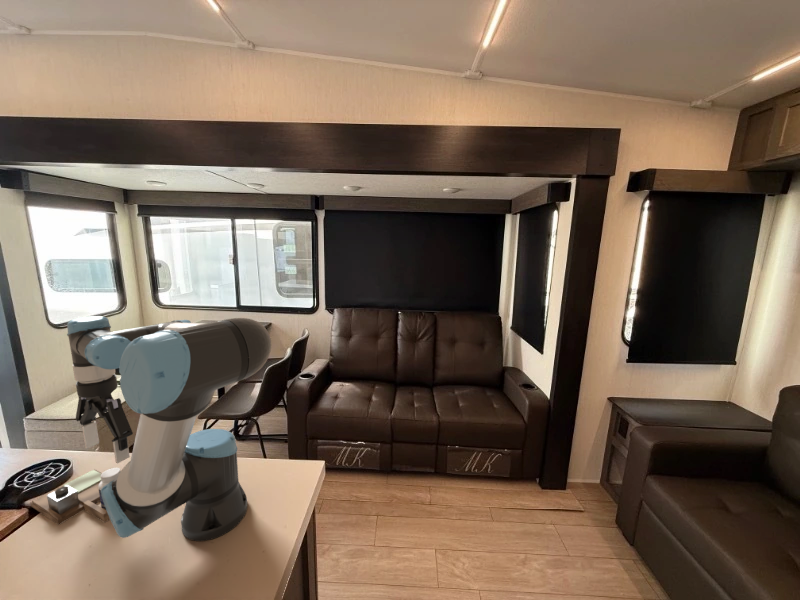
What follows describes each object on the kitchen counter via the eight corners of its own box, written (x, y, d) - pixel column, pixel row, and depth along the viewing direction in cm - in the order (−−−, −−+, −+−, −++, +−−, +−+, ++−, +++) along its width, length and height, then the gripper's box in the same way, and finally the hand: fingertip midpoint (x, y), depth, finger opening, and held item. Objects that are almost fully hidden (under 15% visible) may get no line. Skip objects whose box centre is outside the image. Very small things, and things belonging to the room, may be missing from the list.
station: (143, 497, 91) (142, 490, 91) (79, 538, 78) (78, 530, 78) (95, 472, 100) (94, 465, 99) (30, 506, 87) (29, 498, 87)
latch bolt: (79, 503, 87) (76, 487, 86) (59, 515, 83) (56, 498, 82) (69, 497, 89) (66, 481, 88) (49, 508, 85) (46, 491, 84)
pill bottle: (112, 513, 86) (107, 481, 84) (96, 509, 87) (91, 477, 85) (132, 498, 91) (128, 467, 89) (117, 494, 92) (112, 464, 90)
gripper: (143, 381, 81) (152, 457, 85) (87, 363, 90) (97, 433, 94) (107, 394, 74) (119, 476, 78) (50, 373, 83) (62, 447, 87)
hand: (107, 452), depth 86 cm, fingers open, 13 cm apart
